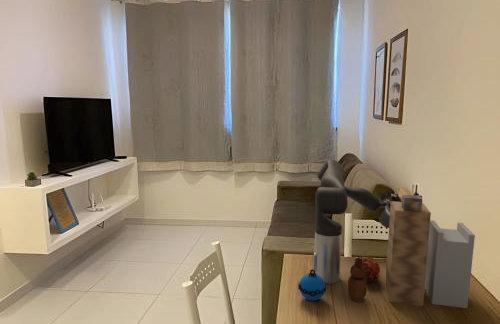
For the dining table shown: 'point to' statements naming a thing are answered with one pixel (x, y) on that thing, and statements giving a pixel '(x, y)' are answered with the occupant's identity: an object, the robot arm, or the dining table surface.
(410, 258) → the walnut post
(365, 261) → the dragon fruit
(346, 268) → the dining table surface
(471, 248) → the grey post
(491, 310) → the dining table surface
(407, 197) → the light wooden block
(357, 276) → the wooden figurine
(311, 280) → the ornament
